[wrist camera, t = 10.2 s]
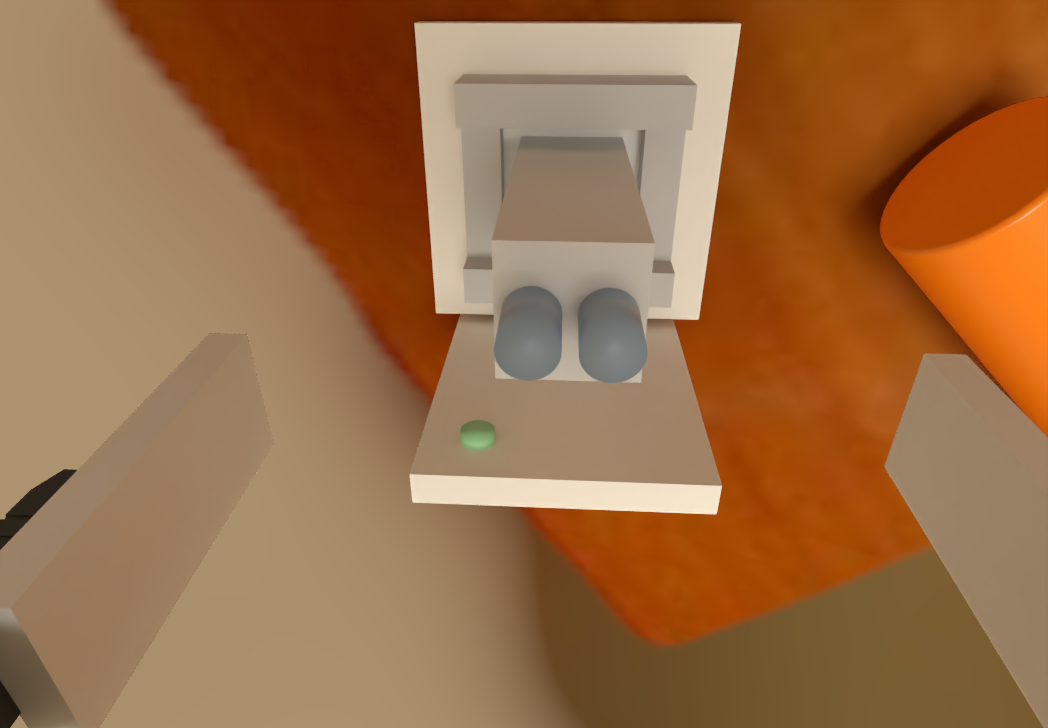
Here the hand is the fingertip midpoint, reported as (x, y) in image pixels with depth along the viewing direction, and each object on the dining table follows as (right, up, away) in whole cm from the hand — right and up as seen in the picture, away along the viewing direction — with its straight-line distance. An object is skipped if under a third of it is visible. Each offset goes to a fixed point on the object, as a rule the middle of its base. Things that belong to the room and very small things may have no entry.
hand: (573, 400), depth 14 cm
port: (+1, +9, +15) cm, 17 cm away
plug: (+1, +8, +14) cm, 16 cm away
